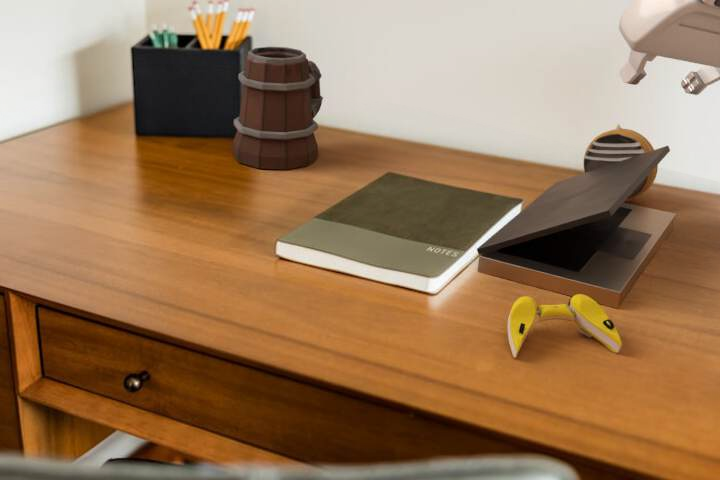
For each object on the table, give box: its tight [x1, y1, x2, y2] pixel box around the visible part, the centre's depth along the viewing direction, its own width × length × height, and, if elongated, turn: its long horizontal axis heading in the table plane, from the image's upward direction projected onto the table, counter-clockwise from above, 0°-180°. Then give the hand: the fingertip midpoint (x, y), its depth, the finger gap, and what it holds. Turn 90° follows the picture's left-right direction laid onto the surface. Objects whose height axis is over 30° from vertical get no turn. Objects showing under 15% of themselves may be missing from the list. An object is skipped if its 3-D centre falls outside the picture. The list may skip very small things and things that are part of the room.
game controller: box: [506, 294, 623, 359], centre depth 82 cm, size 10×6×4 cm, turn 100°
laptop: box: [477, 202, 677, 309], centre depth 103 cm, size 15×26×2 cm, turn 150°
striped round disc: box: [583, 123, 659, 202], centre depth 117 cm, size 9×4×10 cm, turn 51°
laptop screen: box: [476, 145, 671, 256], centre depth 101 cm, size 15×26×1 cm, turn 149°
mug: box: [232, 46, 324, 171], centre depth 127 cm, size 16×12×15 cm
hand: (657, 84), depth 93 cm, fingers open, 8 cm apart
